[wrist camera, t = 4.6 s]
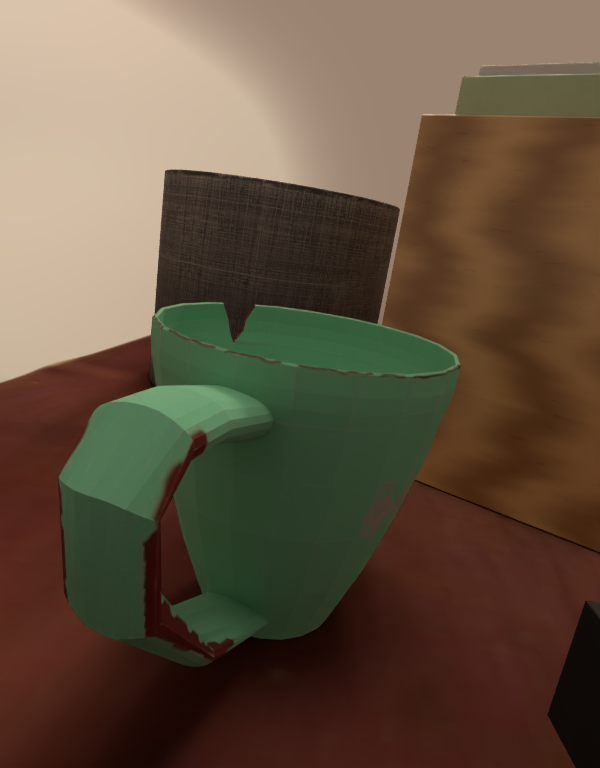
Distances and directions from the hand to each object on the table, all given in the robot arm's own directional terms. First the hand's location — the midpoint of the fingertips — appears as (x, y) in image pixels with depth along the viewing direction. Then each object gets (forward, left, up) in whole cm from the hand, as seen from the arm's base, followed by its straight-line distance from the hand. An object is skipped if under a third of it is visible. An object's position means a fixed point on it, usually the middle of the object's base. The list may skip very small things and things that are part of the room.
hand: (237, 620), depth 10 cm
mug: (+4, -5, -6) cm, 9 cm away
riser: (+1, -31, -6) cm, 32 cm away
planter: (+22, -28, -6) cm, 36 cm away
